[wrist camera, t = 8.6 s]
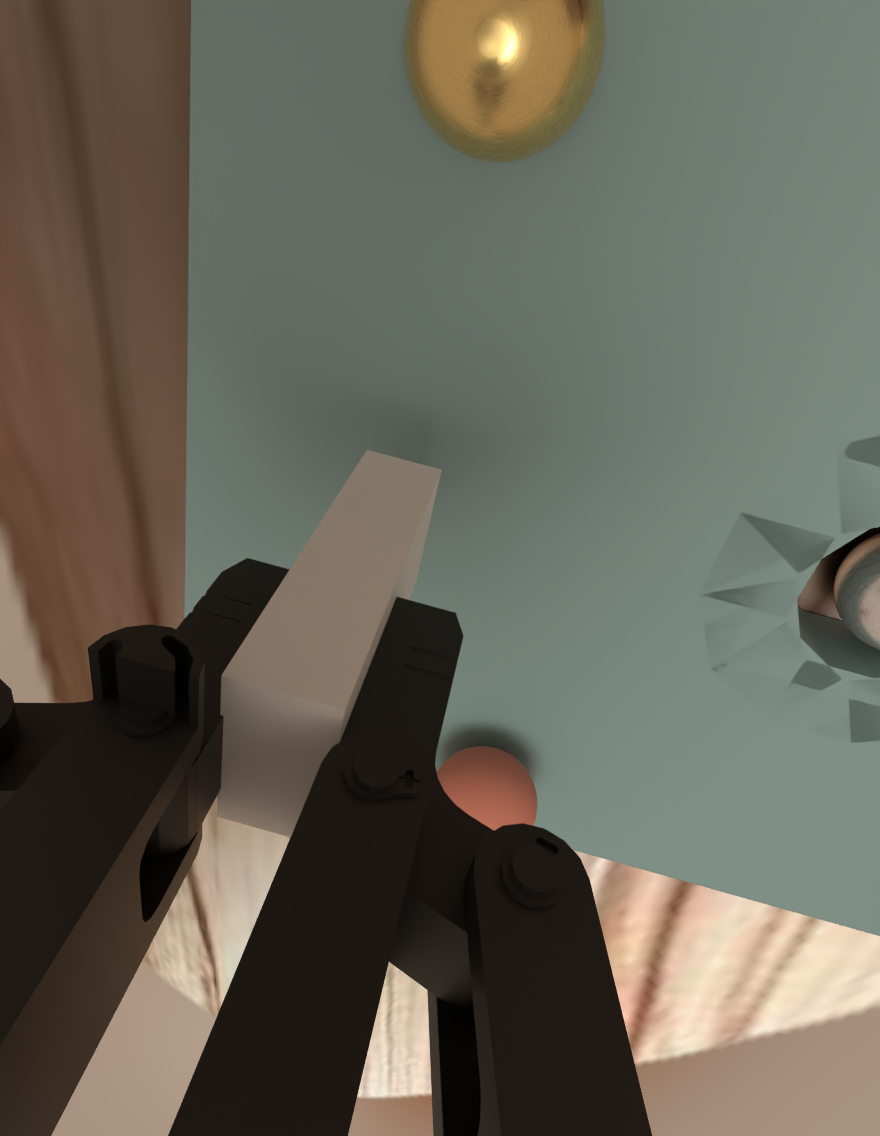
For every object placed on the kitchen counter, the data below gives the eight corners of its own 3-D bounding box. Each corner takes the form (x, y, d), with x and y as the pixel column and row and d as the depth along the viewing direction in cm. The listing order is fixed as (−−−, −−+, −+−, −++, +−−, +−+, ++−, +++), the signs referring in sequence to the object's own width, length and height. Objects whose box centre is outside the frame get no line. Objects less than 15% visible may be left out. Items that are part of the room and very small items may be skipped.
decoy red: (450, 711, 21) (431, 796, 19) (552, 740, 21) (549, 829, 19) (429, 780, 23) (409, 866, 20) (523, 806, 23) (517, 896, 20)
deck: (256, -243, 13) (154, -358, 10) (1681, 106, 12) (2051, 98, 9) (214, 691, 26) (166, 767, 23) (903, 883, 25) (948, 987, 22)
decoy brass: (444, -83, 12) (405, -145, 9) (629, -37, 12) (644, -85, 9) (408, 136, 14) (367, 138, 11) (570, 177, 13) (568, 190, 11)
